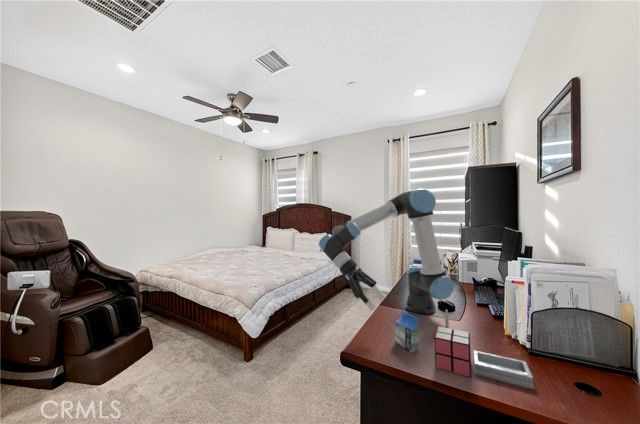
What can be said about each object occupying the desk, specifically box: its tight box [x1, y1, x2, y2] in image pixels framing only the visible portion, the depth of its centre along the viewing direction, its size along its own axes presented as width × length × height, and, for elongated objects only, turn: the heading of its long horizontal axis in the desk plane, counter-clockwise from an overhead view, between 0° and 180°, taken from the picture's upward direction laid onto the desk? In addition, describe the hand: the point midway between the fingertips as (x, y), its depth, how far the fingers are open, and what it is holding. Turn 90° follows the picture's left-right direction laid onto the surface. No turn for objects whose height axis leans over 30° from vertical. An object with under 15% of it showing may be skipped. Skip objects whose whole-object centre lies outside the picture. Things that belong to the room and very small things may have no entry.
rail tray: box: [473, 349, 535, 390], centre depth 76 cm, size 10×14×3 cm
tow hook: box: [432, 309, 450, 338], centre depth 99 cm, size 8×13×9 cm
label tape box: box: [394, 310, 419, 354], centre depth 93 cm, size 9×4×12 cm, turn 23°
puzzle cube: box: [433, 326, 472, 378], centre depth 81 cm, size 10×10×10 cm
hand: (379, 303), depth 98 cm, fingers open, 13 cm apart
